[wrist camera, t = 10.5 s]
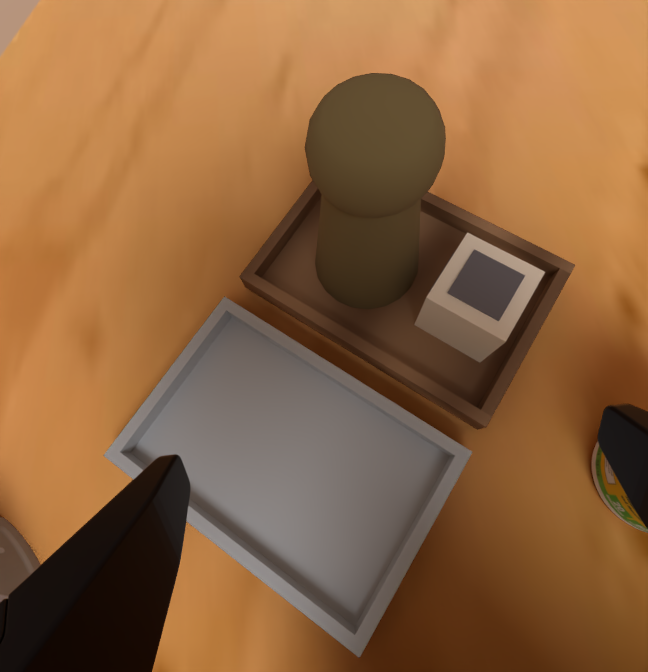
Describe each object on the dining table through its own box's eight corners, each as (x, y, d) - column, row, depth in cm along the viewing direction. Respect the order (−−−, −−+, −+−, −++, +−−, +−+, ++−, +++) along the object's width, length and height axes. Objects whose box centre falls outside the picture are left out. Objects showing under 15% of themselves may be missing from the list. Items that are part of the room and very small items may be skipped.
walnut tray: (562, 276, 24) (575, 264, 23) (477, 429, 22) (486, 427, 21) (338, 163, 27) (337, 147, 26) (245, 287, 25) (239, 276, 24)
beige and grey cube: (514, 303, 23) (546, 270, 20) (479, 362, 23) (506, 341, 19) (447, 268, 24) (466, 230, 20) (412, 324, 23) (424, 295, 20)
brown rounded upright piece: (331, 206, 26) (317, 31, 16) (429, 228, 25) (483, 58, 15) (302, 294, 24) (263, 165, 14) (404, 320, 24) (446, 205, 13)
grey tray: (464, 452, 22) (472, 451, 20) (359, 644, 20) (359, 658, 18) (231, 306, 25) (224, 296, 24) (118, 456, 23) (103, 455, 21)
